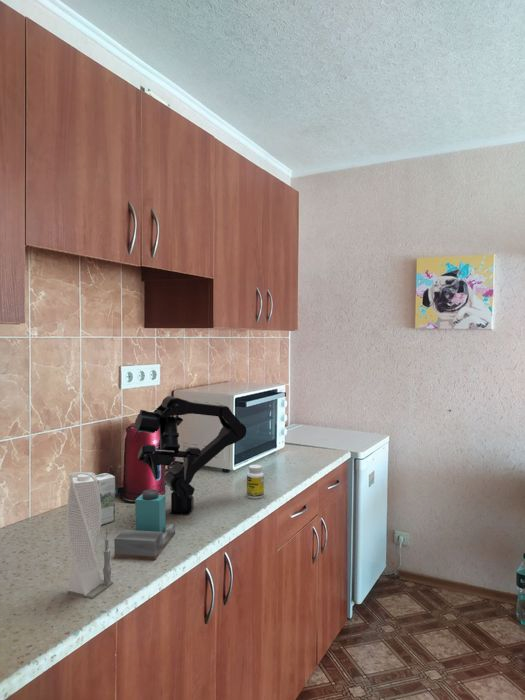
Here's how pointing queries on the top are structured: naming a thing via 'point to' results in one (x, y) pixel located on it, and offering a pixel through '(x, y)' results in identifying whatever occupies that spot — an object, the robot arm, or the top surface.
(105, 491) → the syrup box
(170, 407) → the robot arm
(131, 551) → the mount
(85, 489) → the skyscraper
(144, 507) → the teal tall block
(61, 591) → the top surface
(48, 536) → the top surface
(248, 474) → the pill bottle
